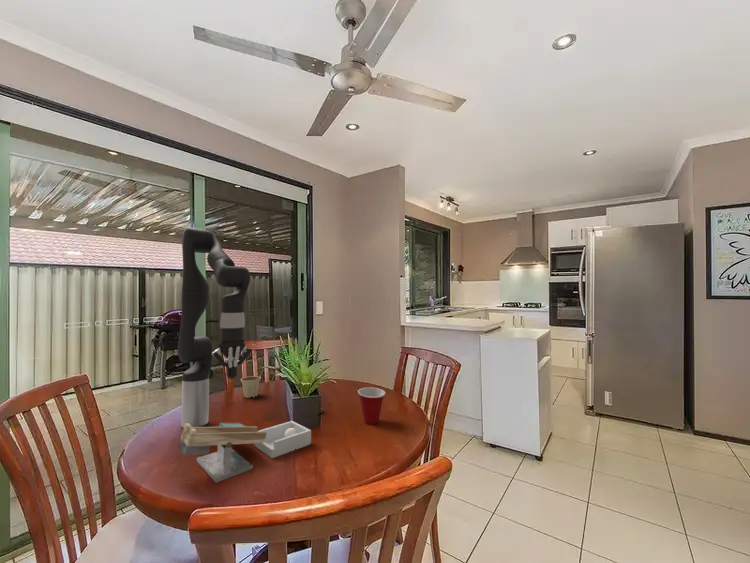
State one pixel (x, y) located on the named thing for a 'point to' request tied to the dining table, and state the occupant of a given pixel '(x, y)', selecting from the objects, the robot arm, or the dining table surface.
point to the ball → (290, 432)
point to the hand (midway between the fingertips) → (231, 378)
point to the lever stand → (223, 463)
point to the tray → (284, 439)
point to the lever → (217, 437)
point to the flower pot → (250, 386)
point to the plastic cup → (371, 403)
